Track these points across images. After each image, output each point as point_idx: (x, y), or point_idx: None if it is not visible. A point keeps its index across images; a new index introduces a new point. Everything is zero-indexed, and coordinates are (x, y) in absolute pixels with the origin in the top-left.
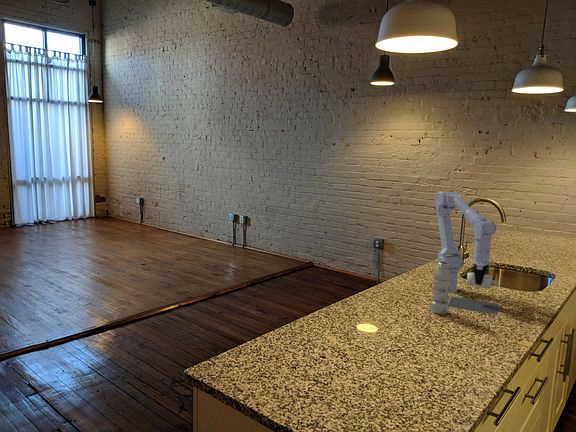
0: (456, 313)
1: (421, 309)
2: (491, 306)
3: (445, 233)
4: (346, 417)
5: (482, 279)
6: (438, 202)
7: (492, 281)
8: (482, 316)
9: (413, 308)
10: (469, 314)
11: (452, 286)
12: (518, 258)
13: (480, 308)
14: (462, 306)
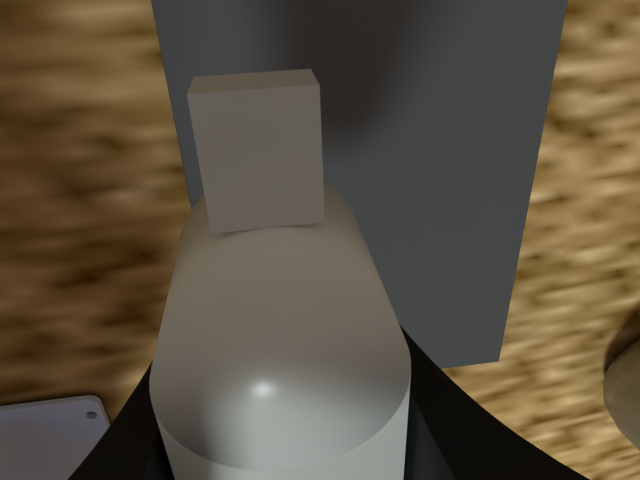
0: (604, 282)
1: (597, 440)
2: (308, 61)
3: None
4: None
5: (443, 377)
6: None
7: (323, 211)
8: (613, 104)
9: (595, 468)
10: (596, 204)
11: (69, 466)
12: None
13: (438, 153)
14: (457, 284)
